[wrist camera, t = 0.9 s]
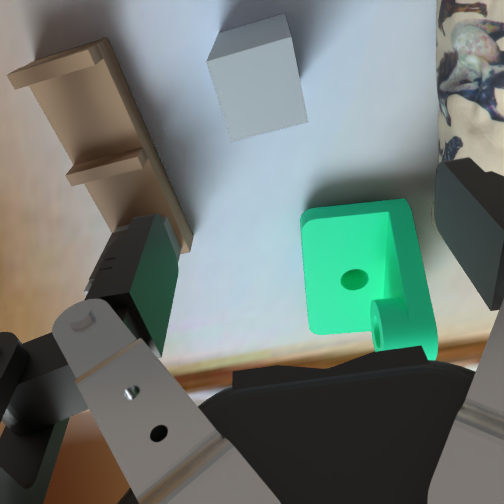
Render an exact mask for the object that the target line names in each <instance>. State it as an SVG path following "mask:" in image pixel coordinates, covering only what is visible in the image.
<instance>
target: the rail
mask: <svg viewBox="0 0 504 504" xmlns="http://www.w3.org/2000/svg"><path fill="white" fill-rule="evenodd" d="M7 77H8V78H9V80H10V82H11V84H12V85H13V87H14V89H18V88H22V87H25V86H28V85H29V87H30V89H31V90H32V92H33V94H34V96H35V97H36V99H37V101H38V103H39V105H40V106H41V108H42V110H43V112H44V113H45V115H46V117H47V119H48V120H49V122H50V124H51V126H52V128H53V129H54V131H55V133H56V135H57V136H58V138H59V140H60V142H61V143H62V145H63V147H64V149H65V151H66V152H67V154H68V156H69V158H70V159H71V161H72V163H73V167H72V168H71V169H70V170H69V172H68V173H67V174H66V175H65V176H66V177H67V179H68V181H69V182H70V184H71V186H75V185H79V184H83V183H84V184H85V186H86V188H87V190H88V191H89V193H90V195H91V197H92V198H93V200H94V202H95V204H96V205H97V207H98V209H99V211H100V213H101V214H102V216H103V218H104V220H105V221H106V223H107V225H108V227H109V228H110V230H111V232H112V234H111V236H110V238H109V240H108V242H107V244H106V246H105V248H104V250H103V252H102V254H101V256H100V258H99V260H98V262H97V264H96V266H95V268H94V270H93V272H92V274H91V276H90V278H89V282H88V284H87V286H86V288H85V290H84V293H85V294H86V296H87V294H88V291H89V289H90V287H91V285H92V282H93V280H94V278H95V276H96V273H97V272H98V271H99V267H100V264H101V262H103V258H104V255H105V253H106V251H107V249H108V247H109V246H110V245H111V244H112V243H113V242H114V241H115V240H116V239H117V238H118V237H120V236H125V234H126V232H127V230H128V227H129V225H130V222H131V220H132V218H134V217H139V216H144V215H150V214H155V213H158V214H159V215H160V216H161V218H162V220H163V222H164V225H165V228H166V230H167V233H168V236H169V238H170V241H171V243H172V246H173V249H174V251H175V254H176V257H177V262H178V260H179V256H180V254H183V253H188V252H190V250H191V246H192V241H193V235H192V233H191V230H190V228H189V226H188V223H187V221H186V219H185V216H184V214H183V212H182V209H181V207H180V205H179V202H178V200H177V198H176V195H175V193H174V191H173V188H172V186H171V184H170V182H169V179H168V177H167V175H166V172H165V170H164V168H163V165H162V163H161V161H160V158H159V156H158V154H157V151H156V149H155V147H154V144H153V142H152V140H151V137H150V135H149V133H148V130H147V128H146V126H145V123H144V121H143V119H142V116H141V114H140V112H139V110H138V107H137V105H136V103H135V100H134V98H133V96H132V93H131V91H130V89H129V86H128V84H127V82H126V79H125V77H124V75H123V72H122V70H121V68H120V65H119V63H118V61H117V58H116V56H115V54H114V51H113V49H112V47H111V44H110V42H109V40H108V38H105V39H102V40H98V41H95V42H92V43H89V44H86V45H83V46H79V47H76V48H73V49H70V50H67V51H64V52H60V53H57V54H54V55H51V56H48V57H45V58H41V59H38V60H35V61H33V62H31V63H29V64H28V65H26V66H24V67H21V68H18V69H17V70H15V71H13V72H11V73H9V74H8V75H7Z"/></svg>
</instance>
